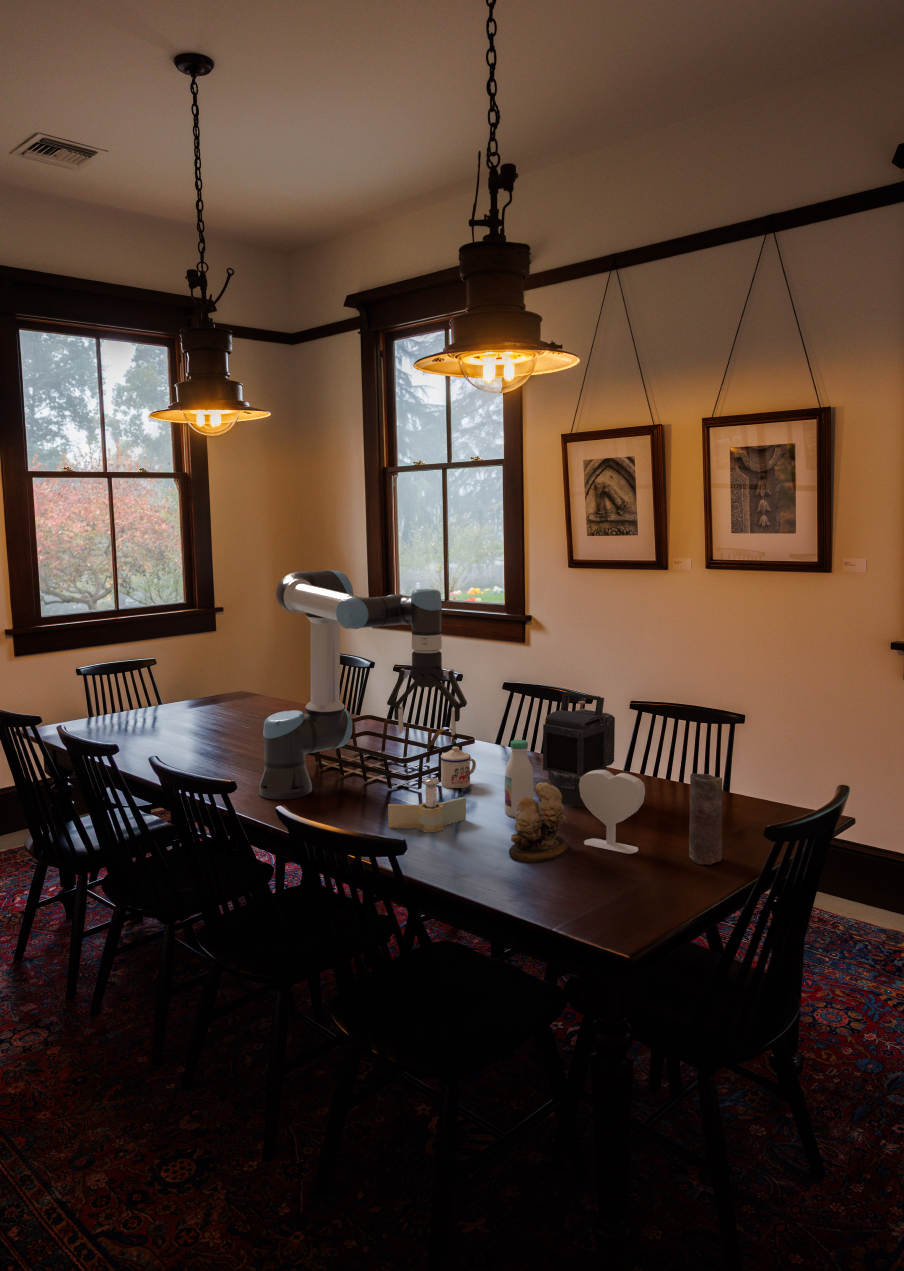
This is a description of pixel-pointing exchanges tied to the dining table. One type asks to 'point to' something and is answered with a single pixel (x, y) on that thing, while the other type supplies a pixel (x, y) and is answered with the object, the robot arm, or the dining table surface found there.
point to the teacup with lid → (456, 768)
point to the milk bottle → (518, 777)
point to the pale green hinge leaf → (448, 813)
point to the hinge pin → (431, 792)
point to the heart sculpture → (611, 803)
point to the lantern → (576, 745)
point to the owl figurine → (539, 827)
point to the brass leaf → (414, 816)
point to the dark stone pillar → (705, 819)
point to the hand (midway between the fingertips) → (427, 733)
